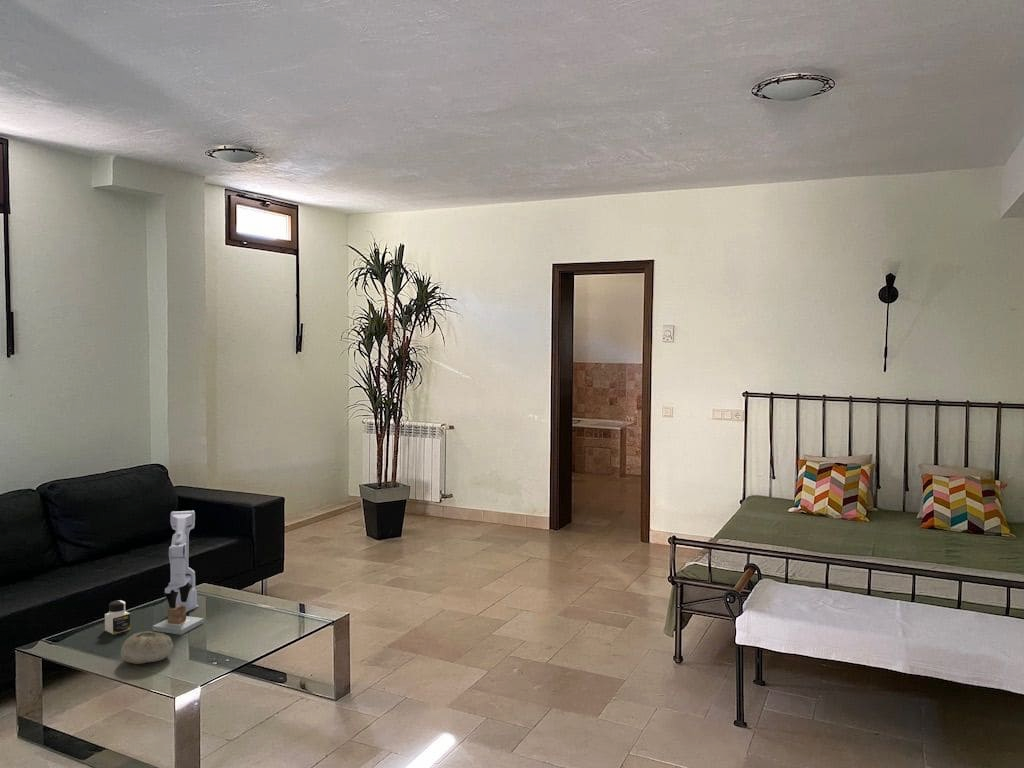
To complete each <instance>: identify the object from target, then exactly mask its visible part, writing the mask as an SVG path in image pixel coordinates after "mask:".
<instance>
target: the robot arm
mask: <svg viewBox="0 0 1024 768" xmlns="http://www.w3.org/2000/svg"><path fill="white" fill-rule="evenodd" d="M195 521H196V512H195V510H193V509H192V510H181V511H178V510H177V511H174V510H173V511H171V512H170V520H169V522H170V526H171V529H172V530H174V531H175V532H174V533H173V534H172V538H171V544H170V546H169V547H168V559H169V565H170V566H169V567H170V582H168V585H167V587H165V588H164V591H163V595H164V596H165V598H166V600H167V603H168V606H169V608H175V606H176V605H178V606H186V613H188V612H190V611H191V610H194V609H197V608H198V607H199V605H198V591H197V589H196V571H195V570H194V569H192V568H191V567H189V555H190V553H189V549H190V548H189V547H190V546H189V545H190V542H189V541H190V539H189V537H190V531H191V530H194V529H195V525H196V522H195Z"/></svg>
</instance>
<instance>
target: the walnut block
mask: <svg viewBox="0 0 1024 768" xmlns="http://www.w3.org/2000/svg"><path fill="white" fill-rule="evenodd" d="M186 616H187V612H186V606H178V605H176V606H175V608H170V607H169V608H167V619H168V623H170V624H180V623H182V622H184V621H186Z"/></svg>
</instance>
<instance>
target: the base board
mask: <svg viewBox="0 0 1024 768" xmlns="http://www.w3.org/2000/svg"><path fill="white" fill-rule="evenodd" d="M204 623H205V622H204V618H203V617H197V616H188V615H186V621H184V622H182V623H180V624H170V623H168V618H166V619H164V620H162V621H160V622H158V623H156V624H154V625H152V632H154V631H155V632H158V633H164V634H165V633H167V634H174V635H180V636H182V635H184V634H186V633H187V632H189V631H191V630H193V629H195V628H196V627H199V626H202V624H204Z"/></svg>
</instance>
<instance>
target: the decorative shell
mask: <svg viewBox="0 0 1024 768" xmlns="http://www.w3.org/2000/svg"><path fill="white" fill-rule="evenodd" d="M120 649H121V650H120V656H121V659H122V660H123V661H125V662H126V663H131V664H135V665H136V664H138V665H140V664H146V663H147V662H148V663H153V662H154V663H155V662H160V661H161V660H164V659H166V657H168V656H169V655H170V654H171V653H172V651H173V649H174V643H173V641H172V638H171V637H170V635H167V634H165V632H158V631H153V630H152V631H151V630H148V631H147V630H145V631H140V632H135V633H133V634H132V635H129V637H127V638H126V639H125V641H124V642H122V645H121V648H120Z"/></svg>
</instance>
